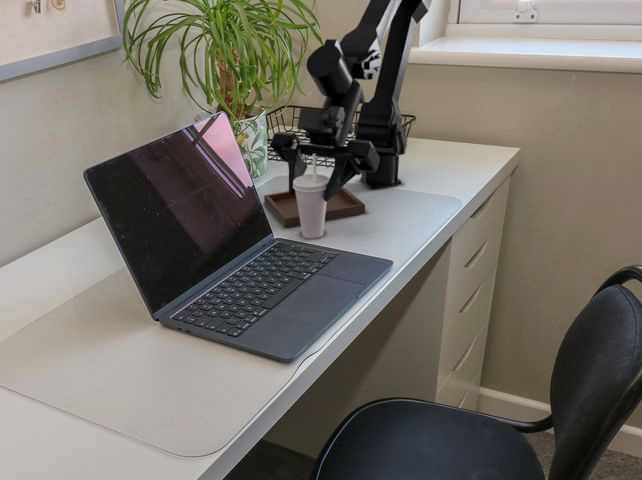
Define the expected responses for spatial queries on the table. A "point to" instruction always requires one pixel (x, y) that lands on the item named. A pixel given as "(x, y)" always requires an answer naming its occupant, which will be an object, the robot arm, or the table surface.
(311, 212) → the smoothie
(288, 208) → the tray
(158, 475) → the table surface
